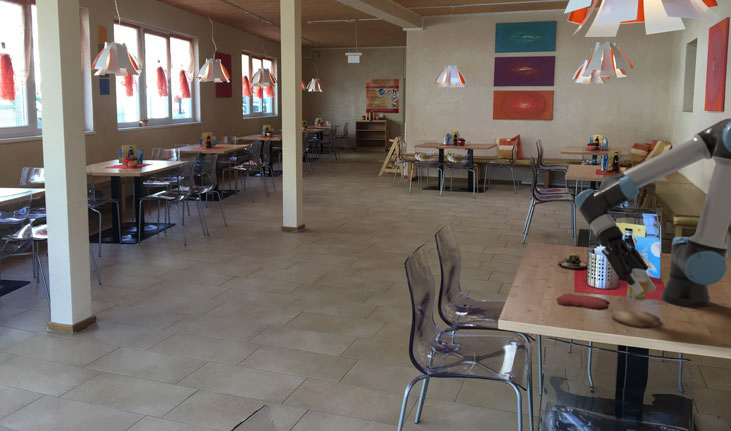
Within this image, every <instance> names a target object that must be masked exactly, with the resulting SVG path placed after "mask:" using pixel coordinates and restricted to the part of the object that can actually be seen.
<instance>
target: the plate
mask: <svg viewBox="0 0 731 431" xmlns="http://www.w3.org/2000/svg"><path fill="white" fill-rule="evenodd" d="M611 319H612V320H613V321H614V322H616V323H618V324H622V325H625V326H628V327H632V328H633V327H634V328H644V329H645V328H647V329H648V328H656V327H658V326H660V325H661V324H660V323H661V319H660V317H658V316H657V315H655V314H652V313H649V312H646V311H640V310H633V309H621V310H620V309H619V310H615V311H613V312H612V313H611Z"/></svg>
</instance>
